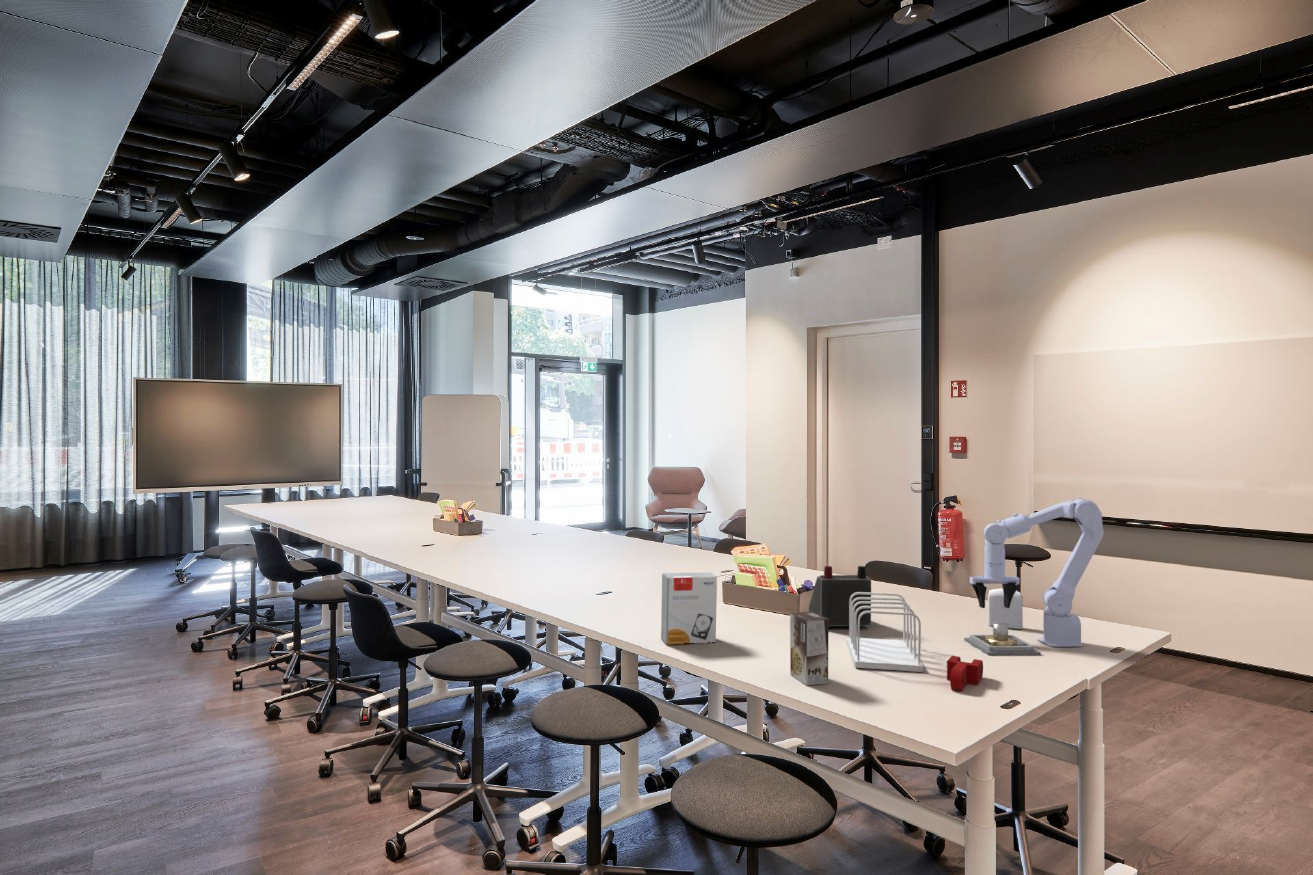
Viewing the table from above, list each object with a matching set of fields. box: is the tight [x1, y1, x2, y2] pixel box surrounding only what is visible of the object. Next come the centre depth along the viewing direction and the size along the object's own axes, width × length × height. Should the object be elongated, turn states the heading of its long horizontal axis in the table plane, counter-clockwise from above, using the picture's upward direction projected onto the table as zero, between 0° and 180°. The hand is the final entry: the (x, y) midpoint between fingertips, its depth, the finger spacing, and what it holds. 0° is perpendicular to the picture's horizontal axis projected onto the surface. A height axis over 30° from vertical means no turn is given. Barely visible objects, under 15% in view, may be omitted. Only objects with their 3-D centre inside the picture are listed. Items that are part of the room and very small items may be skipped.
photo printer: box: [987, 588, 1024, 630], centre depth 235 cm, size 10×4×12 cm, turn 63°
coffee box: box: [789, 610, 830, 686], centre depth 183 cm, size 9×6×16 cm
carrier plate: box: [963, 634, 1042, 656], centre depth 212 cm, size 15×15×2 cm
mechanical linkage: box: [946, 655, 984, 692], centre depth 181 cm, size 16×7×5 cm, turn 147°
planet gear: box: [984, 622, 1018, 646], centre depth 212 cm, size 9×9×6 cm
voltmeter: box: [808, 565, 872, 630], centre depth 239 cm, size 16×16×20 cm
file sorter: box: [846, 592, 924, 673], centre depth 203 cm, size 25×17×16 cm
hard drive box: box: [660, 571, 718, 645], centre depth 218 cm, size 16×8×20 cm, turn 102°
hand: (994, 607), depth 222 cm, fingers open, 7 cm apart
